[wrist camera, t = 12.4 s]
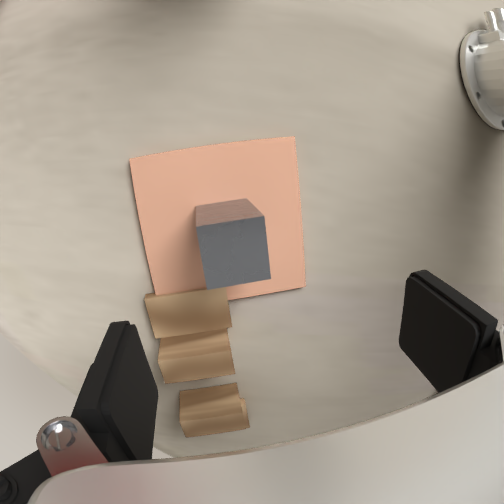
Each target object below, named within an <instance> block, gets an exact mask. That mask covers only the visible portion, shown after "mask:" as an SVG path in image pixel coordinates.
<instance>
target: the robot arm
mask: <svg viewBox="0 0 504 504" xmlns="http://www.w3.org/2000/svg"><path fill="white" fill-rule="evenodd" d="M484 14H485V18H486V22H487V24H488V27H489V29H488V30H487V31H486V30H482V29H481V30H475V31H472V32H469V33H468V34H467V35H466V36H465V38H464V39H463V41H462V45H461V49H460V67H461V74H462V78H463V82H464V86H465V88H466V91H467V94H468V96H469V99H470V101H471V103H472V105H473V107H474V108H475V110H476V111H477V113H478V114H479V116H480V117H481V118H482V119H483V121H485V122H486V123H487V124H488V125H489V126H491V127H493V128H494V129H499V130H504V9H499V8H496V9H493V10H492V12H489V11H488V12H485V13H484ZM497 323H498V320H497V319H496V318H494V317H493V316H492V315H490V314H489V313H488V312H486V311H485V310H483V309H482V308H481V307H479V306H478V305H477V304H475V303H474V302H472V301H471V300H470V299H468V298H467V297H465V296H464V295H462V294H461V293H460V292H458V291H457V290H455V289H454V288H452V287H451V286H449V285H448V284H446V283H445V282H444V281H442V280H441V279H439V278H438V277H436V276H435V275H433V274H432V273H430V272H429V271H427V270H422V271H417V272H413V273H411V274H410V276H409V278H407V280H406V288H405V297H404V306H403V314H402V321H401V329H400V335H399V345H400V347H401V349H402V350H403V351H404V352H405V354H406V355H407V356H408V357H409V358H410V359H411V360H412V362H413V363H414V364H415V365H416V366H417V367H418V369H419V370H420V371H421V372H422V373H423V374H424V376H425V377H426V378H427V379H428V380H429V381H430V383H431V384H432V385H433V386H434V387H435V389H436V390H437V391H438V392H439V393H438V394H436V395H434V396H431V397H429V398H426V399H424V400H422V401H419V402H417V403H414V404H411V405H409V406H406V407H404V408H401V409H398V410H396V411H393V412H390V413H387V414H384V415H381V416H379V417H376V418H373V419H370V420H366V421H363V422H360V423H357V424H354V425H350V426H347V427H344V428H340V429H336V430H333V431H329V432H325V433H322V434H318V435H314V436H310V437H305V438H301V439H297V440H292V441H288V442H283V443H278V444H273V445H268V446H263V447H257V448H251V449H245V450H239V451H232V452H224V453H216V454H208V455H200V456H190V457H179V458H166V459H152V448H153V439H154V429H155V419H156V410H157V401H158V389H157V386H156V383H155V380H154V378H153V375H152V372H151V369H150V367H149V364H148V361H147V358H146V355H145V352H144V349H143V346H142V343H141V340H140V337H139V334H138V331H137V328H136V326H135V325H134V324H133V325H130V323H129V321H120V322H112V323H111V324H110V326H109V328H108V330H107V332H106V335H105V337H104V339H103V342H102V344H101V346H100V349H99V351H98V353H97V356H96V358H95V361H94V363H93V364H92V365H91V366H90V368H89V371H88V373H87V376H86V378H85V381H84V383H83V386H82V388H81V391H80V393H79V396H78V399H77V401H76V404H75V407H74V409H73V412H72V415H71V417H66V416H63V417H57V418H54V419H52V420H50V421H48V422H47V423H45V424H44V425H43V426H42V427H41V428H40V430H39V432H38V434H37V438H36V443H37V447H38V450H37V451H35V452H33V453H32V454H30V455H28V456H27V457H25V458H23V459H22V460H20V461H18V462H17V463H15V464H13V465H11V466H10V467H8V468H6V469H4V470H3V471H1V472H0V504H504V325H503V326H502V327H501V328H500V330H499V332H498V331H497V330H496V327H497Z"/></svg>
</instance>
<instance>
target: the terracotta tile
mask: <svg viewBox="0 0 504 504" xmlns="http://www.w3.org/2000/svg"><path fill="white" fill-rule="evenodd" d="M129 160H130V167H131V173H132V180H133V186H134V192H135V198H136V204H137V209H138V215H139V220H140V225H141V230H142V235H143V240H144V245H145V250H146V255H147V259H148V264H149V268H150V273H151V277H152V281H153V285H154V289H155V294H156V295H163V294H169V293H176V292H182V291H189V290H195V289H202V288H207V287H206V282H205V276H204V271H203V265H202V260H201V254H200V248H199V243H198V237H197V231H196V206H198V205H204V204H211V203H217V202H224V201H230V200H237V199H244V198H247V199H248V200H249V201H250V202H251V203H252V204H253V205H254V206H255V207H256V208H257V209H258V210H259V211H260V212H261V213H262V214H263V215H264V216H265V225H266V235H267V244H268V253H269V263H270V273H271V279H268V280H262V281H257V282H251V283H245V284H240V285H234V286H228V287H226V292H227V298H228V300H233V299H239V298H245V297H251V296H256V295H262V294H268V293H273V292H279V291H284V290H290V289H295V288H301V287H306V283H305V263H304V246H303V230H302V216H301V202H300V190H299V178H298V166H297V155H296V145H295V136H293V137H280V138H269V139H258V140H248V141H239V142H231V143H223V144H215V145H208V146H201V147H194V148H187V149H181V150H175V151H169V152H163V153H157V154H152V155H146V156H141V157H136V158H131V159H129Z"/></svg>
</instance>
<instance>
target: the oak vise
mask: <svg viewBox="0 0 504 504" xmlns="http://www.w3.org/2000/svg"><path fill="white" fill-rule="evenodd" d="M144 300H145V304H146V308H147V311H148V315H149V318H150V322H151V325H152V329H153V332H154V336H155V339H156V338H161V339H160V347H159V354H158V364H159V367H160V370H161V373H162V376H163V378H164V381H165V384H168V383H176V382H184V381H192V380H199V379H206V378H212V377H219V376H225V375H231V374H235V369H234V364H233V359H232V353H231V348H230V343H229V338H228V333H227V328H230V327H232V323H231V317H230V311H229V304H228V298H227V292H226V287H222V288H216V289H210V290H207V288H202V289H195V290H189V291H182V292H176V293H169V294H163V295H156V294H155V293H150V294H146V295H145V298H144ZM180 424H181V427H182V429H183V432H184V434H185V437H194V436H202V435H210V434H217V433H224V432H230V431H236V430H242V429H246V428H249V427H250V425H249V420H248V415H247V409H246V404H245V400H244V398H243V399H240V397H239V392H238V388H237V383H232V384H226V385H220V386H213V387H206V388H199V389H192V390H184V391H180Z"/></svg>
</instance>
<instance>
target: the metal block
mask: <svg viewBox="0 0 504 504" xmlns="http://www.w3.org/2000/svg"><path fill="white" fill-rule="evenodd" d="M196 231H197V237H198V243H199V248H200V254H201V260H202V265H203V271H204V276H205V282H206V287H207V290H210V289H216V288H222V287H228V286H234V285H240V284H245V283H251V282H257V281H262V280H268V279H271V273H270V263H269V253H268V244H267V235H266V225H265V216H264V215H263V214H262V213H261V212H260V211H259V210H258V209H257V208H256V207H255V206H254V205H253V204H252V203H251V202H250V201H249V200H248V199H247V198H244V199H237V200H230V201H224V202H217V203H211V204H204V205H198V206H196Z"/></svg>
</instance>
